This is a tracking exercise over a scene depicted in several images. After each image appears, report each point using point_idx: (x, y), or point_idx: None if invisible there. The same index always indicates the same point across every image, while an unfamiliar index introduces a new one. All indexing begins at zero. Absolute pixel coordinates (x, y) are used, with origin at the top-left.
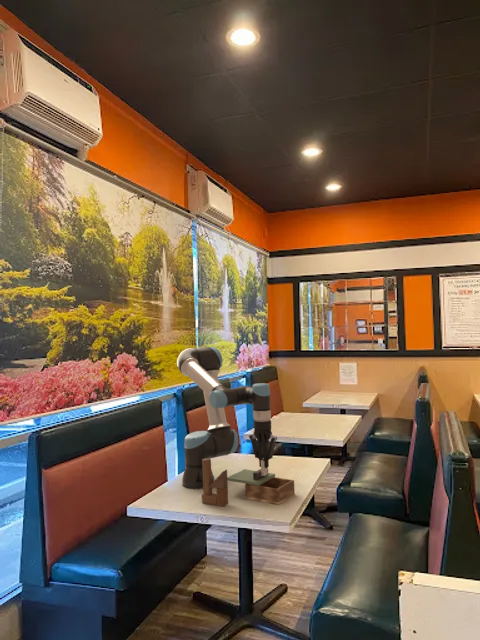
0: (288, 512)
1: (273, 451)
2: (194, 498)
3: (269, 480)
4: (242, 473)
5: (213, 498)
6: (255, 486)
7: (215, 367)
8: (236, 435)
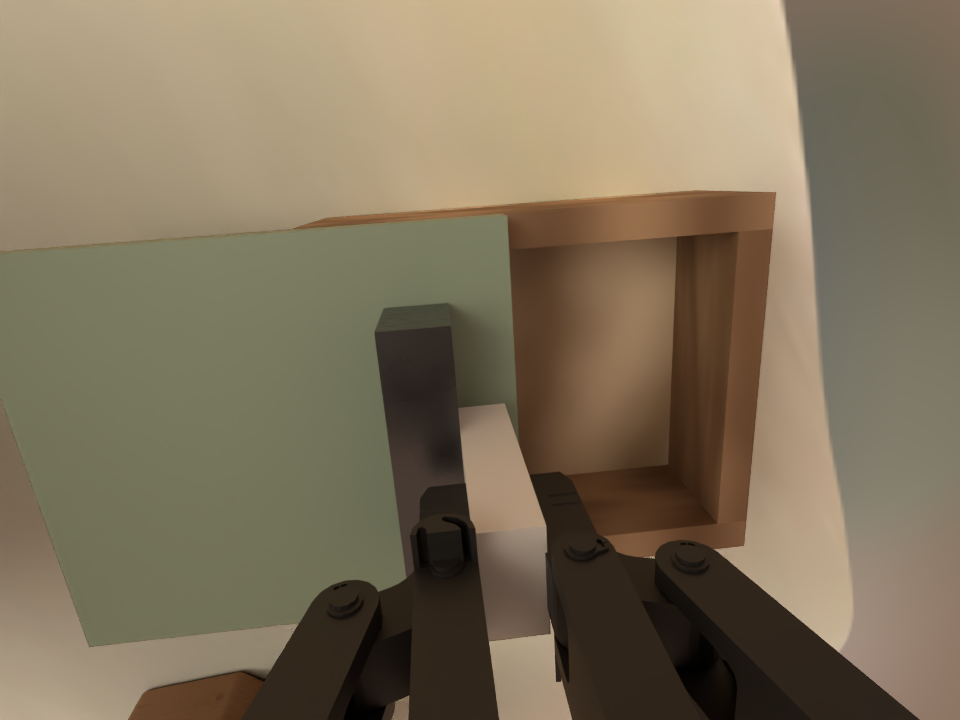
0: (807, 544)
1: (851, 669)
2: (24, 705)
3: None
4: (105, 435)
5: None
6: None
7: None
8: None
